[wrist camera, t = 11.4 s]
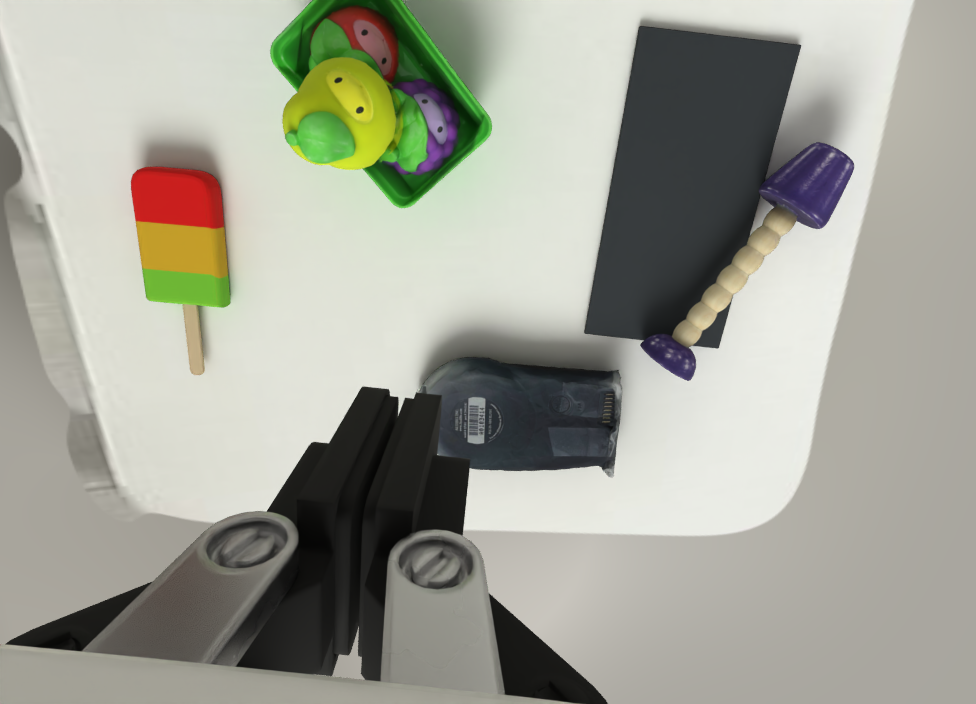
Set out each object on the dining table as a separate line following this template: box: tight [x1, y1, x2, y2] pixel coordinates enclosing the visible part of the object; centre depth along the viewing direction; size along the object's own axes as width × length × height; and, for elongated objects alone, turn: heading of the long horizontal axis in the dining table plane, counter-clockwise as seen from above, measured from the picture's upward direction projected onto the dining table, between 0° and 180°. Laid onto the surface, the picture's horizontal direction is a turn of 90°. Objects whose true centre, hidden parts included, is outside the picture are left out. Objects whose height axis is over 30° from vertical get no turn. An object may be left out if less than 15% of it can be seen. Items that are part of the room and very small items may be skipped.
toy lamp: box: [640, 142, 854, 381], centre depth 37 cm, size 5×5×17 cm
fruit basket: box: [270, 0, 492, 208], centre depth 31 cm, size 11×9×11 cm
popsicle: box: [131, 167, 230, 375], centre depth 40 cm, size 6×15×2 cm, turn 175°
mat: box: [584, 26, 801, 348], centre depth 38 cm, size 20×10×1 cm, turn 174°
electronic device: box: [417, 357, 622, 477], centre depth 42 cm, size 9×6×15 cm
